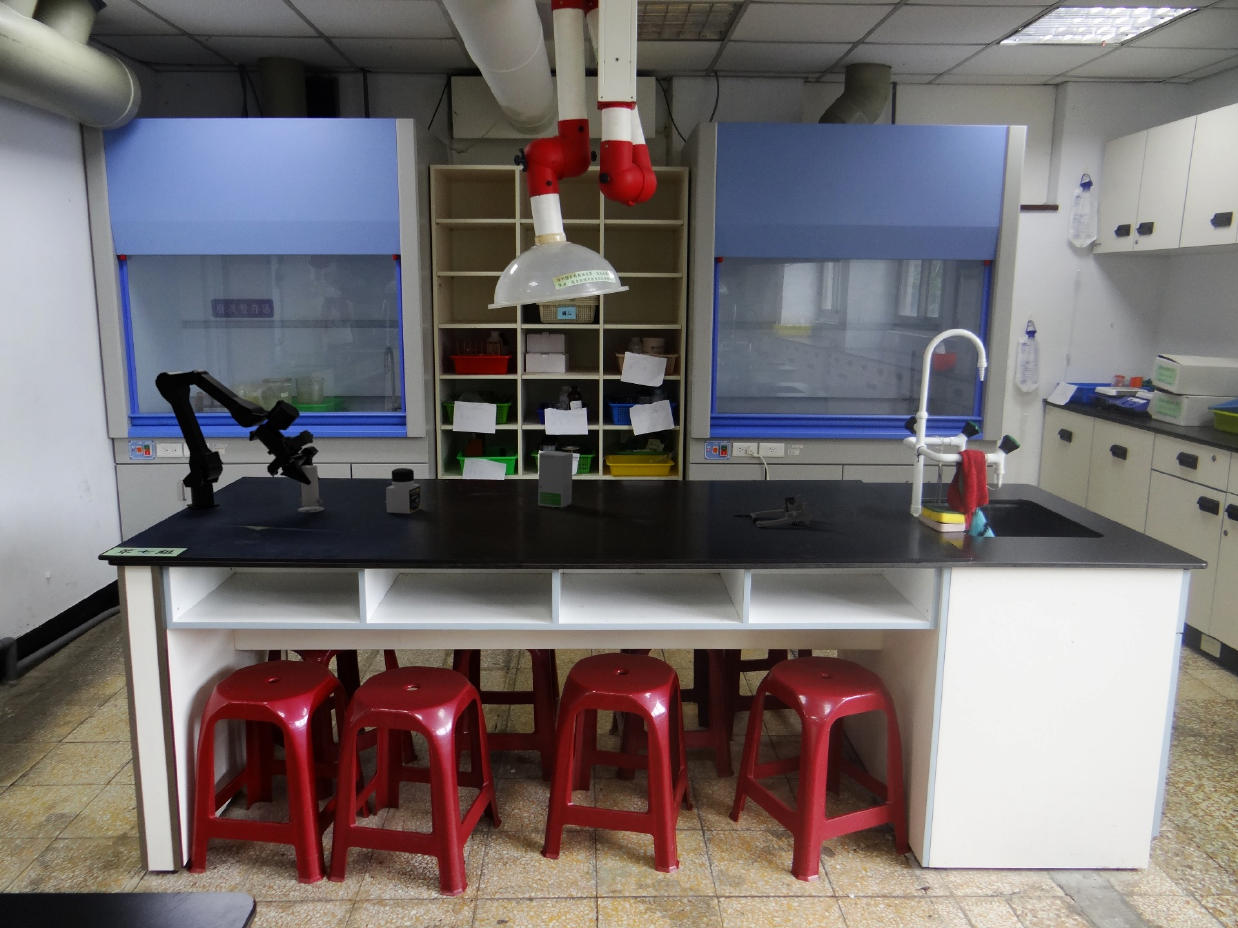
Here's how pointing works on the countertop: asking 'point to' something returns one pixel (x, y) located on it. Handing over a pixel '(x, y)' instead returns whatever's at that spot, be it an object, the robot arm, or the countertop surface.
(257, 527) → the mat
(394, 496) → the medicine bottle
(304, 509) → the grey shallow disc
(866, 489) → the countertop surface
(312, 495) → the grey rounded post
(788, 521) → the bike brake
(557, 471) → the skincare box
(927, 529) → the countertop surface
